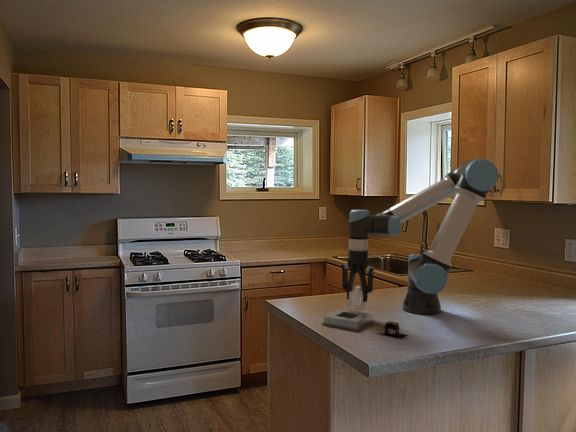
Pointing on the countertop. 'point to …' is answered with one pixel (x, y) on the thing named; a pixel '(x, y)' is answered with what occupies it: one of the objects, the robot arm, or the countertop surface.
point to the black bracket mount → (390, 333)
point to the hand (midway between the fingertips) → (356, 308)
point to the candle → (357, 299)
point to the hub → (348, 320)
